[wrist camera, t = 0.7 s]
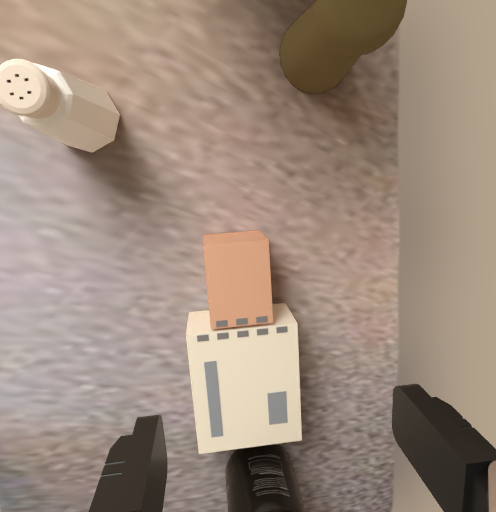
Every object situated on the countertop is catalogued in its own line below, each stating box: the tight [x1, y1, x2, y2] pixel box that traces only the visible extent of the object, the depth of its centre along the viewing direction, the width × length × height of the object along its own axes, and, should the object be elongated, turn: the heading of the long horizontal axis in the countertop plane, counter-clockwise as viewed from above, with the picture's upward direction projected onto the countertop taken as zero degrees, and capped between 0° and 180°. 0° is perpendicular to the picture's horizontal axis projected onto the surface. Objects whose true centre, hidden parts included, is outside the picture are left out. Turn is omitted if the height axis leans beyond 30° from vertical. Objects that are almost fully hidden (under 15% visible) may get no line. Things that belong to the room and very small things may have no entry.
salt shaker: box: [0, 59, 120, 153], centre depth 25 cm, size 5×5×11 cm
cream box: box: [186, 303, 302, 454], centre depth 34 cm, size 11×9×5 cm
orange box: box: [203, 230, 273, 329], centre depth 31 cm, size 7×5×5 cm
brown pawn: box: [279, 0, 407, 94], centre depth 26 cm, size 6×6×11 cm
